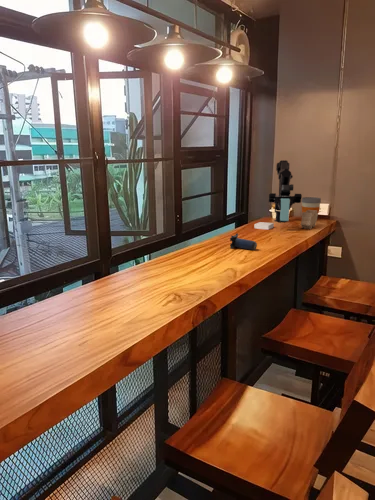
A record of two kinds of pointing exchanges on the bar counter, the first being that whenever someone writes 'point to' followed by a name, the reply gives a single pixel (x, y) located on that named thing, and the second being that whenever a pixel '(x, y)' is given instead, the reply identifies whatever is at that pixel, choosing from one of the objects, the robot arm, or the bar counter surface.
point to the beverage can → (242, 243)
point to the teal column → (284, 210)
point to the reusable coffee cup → (311, 204)
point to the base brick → (263, 225)
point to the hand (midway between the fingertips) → (284, 209)
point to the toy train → (309, 219)
